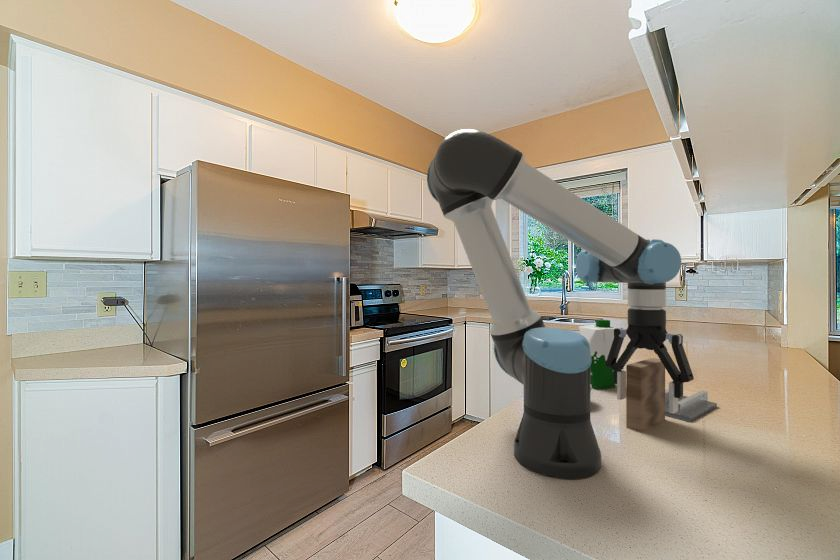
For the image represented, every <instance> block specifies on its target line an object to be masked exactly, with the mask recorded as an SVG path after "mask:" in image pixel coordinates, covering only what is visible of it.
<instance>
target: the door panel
mask: <svg viewBox="0 0 840 560" xmlns="http://www.w3.org/2000/svg"><path fill="white" fill-rule="evenodd" d="M625 366H626V370H625V371H626V398H625V401H626V402H625V403H626V404H625V405H626V406H625V407H626V412H625V413H626V415H625V416H626V417H625V419H626V423H625V425H626V426H625V427H626V429H629V430H633V431H635V430H636V431H635V432H638V431H639V433H643V432H644V431H646V430H648V429H650V428H651V427H654V426H657V424H660V423H662V422H664V421H666V415H665V390H666V368H665V367H664V365H663V363H662V362H661V360H660V358H653V357H651V358H647V359H643V360H640V361H635V362H633V363H632V362H631V363H629V364H628V363H627V364H626V365H625Z"/></svg>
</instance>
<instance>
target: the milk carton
mask: <svg viewBox="0 0 840 560" xmlns="http://www.w3.org/2000/svg"><path fill="white" fill-rule="evenodd" d="M578 328H579V334H581V335H582V336H584V337H585V338H586V339H587V340H588V342H589V345H590V353H591V359H592V362H591V385H592V389H594V388H595V390H602V389H612V388H617V385H616V384H615V383H614V371H613V369H612V368H610V367H607V366H606V361H607V358H608V355H609V352H610V349H611V346H612V343H613V340H614V329H617V328H618V327H614V326H613V327H612V326H611V320H610V319H595V325H584V326H582V325H579V326H578Z"/></svg>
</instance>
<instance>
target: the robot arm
mask: <svg viewBox="0 0 840 560" xmlns="http://www.w3.org/2000/svg"><path fill="white" fill-rule="evenodd" d="M426 175H427V176H426V184H427V188H428V191H429V194H430V195H431V196H432V198H433V200H435V201H436V202H437V203H438V204H439V208H440V210H441V213H442V215H443V217H444V219H447V220H449V221H451V222H452V223H454V226H455V228H456V231H457V233H458V236H459V239H460V241H461V244H462V245H463V249H464V252H465V254H466V257H467V259H468V262H469V264H470V266H471V269H472V272H473V275H474V277H475V280H476V282H477V284H478V287H479V290H480V292H481V294H482V297H483V300H484V302H485V304H486V308H487V310H488V312H489V315H490V317H491V320H492V325H491V327H490V329H489V333H490V336H491V339H492V342H493V353H494V357H495V360H496V363H498V365H499V367H500V368H501V370H502V371H504V372H505V373H506V374H507V375H508V376H510V377H511V378H513V379H514V380H515V381H517V382H519V383H520V384H522V385H523V414H522V417H521V421H520V423H519V426H518V429H517V432H516V435H515V438H514V442H513V444H514V445H513V447H514V448H513V450H514V451H513V454H514V457H515V460H517V462H518V463H519V464H521V465H522V466H523V467H525V468H527V470H530V471H532V472H535V473H537V474H540V475H543V476H547V477H551V478H557V479H564V480H567V479H568V480H578V479H579V480H581V479H586V478H590V477H593V476H594V475H596V474H598V473H599V472H600V471H601V468H602V452H601V449H600V447H599V443H598V440H597V437H596V434H595V431H594V427H593V425H592V421H591V392H590V385H591V362H592V359H591V353H590V345H589V342H588V340H587V339H586V338H585V337H584V336H582V335H581V334H580V332H579V333H578V332H576V331H573V330H569V329H564V328H559V327H548V326H547V327H546V325H545V322H544V320H543V317H542V314H541V313H539V312H537V311H536V310H533V309H532V308H531V306H530V304H529V301H528V298H527V296H526V293H525V292H524V288H523V286H522V283H521V281H520V277H519V275H518V273H517V270H516V267H515V265H514V263H513V260H512V257H511V254H510V252H509V250H508V247H507V244H506V241H505V240H504V237H503V234H502V231H501V229H500V227H499V224H498V221H497V219H496V216H495V214H494V211H493V208H492V204H493V201H497V200H502V201H504V202H506V203H508V204H509V205H511V206H512V207H514V208H515V209H516V210H517V209H518V210H519V211H520V212H522V213H524V214H526V215H527V216H528V217H531V218H532V219H533V220H534V221H537V222H538V223H540V224H541V225H543V226H545V227H546V228H548V229H549V230H550V231H553V232H555V233H556V234H558V235H559V236H561V237H563V238H564V239H566V240H568V242H571V243H572V244H573V245H575V246H578V247H579V248H580V249H582V250H581V251H580V252H579V253H578V255H577V257H576V260H575V272H576V274H577V277H578V278H579V280H580V281H582V282H584V283H594V284H597V283H618V284H619V283H625V284H626V283H627V306H628V307H630V308H628V309H627V328H623V327H616V328H617V329H614V340H613V343H612V346H611V349H610V352H609V355H608V358H607V361H606V366H607V367H610V368H612V369H613V371H614V383H615V385H616V399H617V400H619V401H621V400H624V399H626V370H624V369H625V368H624V367H625V366H626V365H627V364H628V362H629V361H630V359H631V358H632V357H633V355H634V353H635V352H636V351H637V350H638V349H641V350H642V349H646V350H649V351H653V352H654V354H655V355H657V357H658V359H660V360H661V362H662V363H663V365H664V367H665V371H667V373H668V375H669V376H670V378H671V381H670V382H668V389H669V413H672V414H673V413H675V412H677V411H678V398H681V397H682V396H684V383H689V382H692V381H693V380H694V378H695V377H694V374H693V371H692V369H691V365H690V362H689V360H688V357H687V354H686V352H685V348H684V343H683V341H684V336H683V335H682V334H681V333H677V334H673V333H668V331H667V328H666V326H667V310H665V309H664V308H665V307H666V306H667V289H666V288H667V283H668V282H670V281H672V280H673V279H674V278H676V277H677V276H678V274H679V272H680V269H681V267H682V257H681V254H680V252H679V250H678V249H677V247H675V246H674V245H673V244H671V243H668V242H665V241H664V240H662V239H650V238H649V239H646V238H644V237H642V236H641V235H639V234H638V233H636V232H635V231H633V230H632V229H630V228H628V227H626V226H625V225H624V224H622V223H621V222H619V221H618V220H616V219H614V218H613V217H611V216H610V215H608V214H606V213H605V212H603V211H602V210H600V209H599V208H597V207H595V206H594V205H593V204H591V203H590V202H588V201H586V200H584V198H582V197H580V196H578V195H577V194H575V192H572V191H570V190H569V189H567V188H566V187H564V186H563V185H562V184H561V183H558V182H557V181H555V180H554V179H552V178H550V177H549V176H547V174H545V173H543V172H541V171H539V170H538V169H536V168H535V167H534V166H532V165H530V164H528V163H527V162H526V160H525V154H524V153H523V152H521V151H520V150H519V149H517V148H515V147H514V146H512V145H511V144H508V143H507V142H505V141H503V139H500V138H498V137H496V136H495V135H492V134H490V133H487V132H485V131H481V130H478V129H472V128H467V129H466V128H465V129H459V130H456V131H454V132H452V133H449V135H448V136H446V137H445V138H444V139H442V141H441V143H440V144H439V146H438V147H437V150H436V152H435V155H434V157H433V159H432V160H431V161H430V164H429V166H428V168H427V173H426ZM626 337H628V338H629V339H630V341H629V342H628V344H627V345H626V347H625V349H624V350H623V352H622V353H621V355H620V356H619V354H620V352H621V348H622V346H623V342H624V340H625V338H626ZM667 340H668V342H669V344H670V345H671V349H672V352H673V355H674V358H675V361H676V363H677V365H676V363H675V361H674V360H673V359H672V357H671V355H670V353H669V352H668V348H667V347H666V345H665V344H664V342H665V341H667Z"/></svg>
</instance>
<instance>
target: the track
mask: <svg viewBox="0 0 840 560" xmlns="http://www.w3.org/2000/svg"><path fill="white" fill-rule="evenodd" d="M708 394H709V393H708V391H707V390H700V391H698V392H695V393H694V394H691V395H689V396H687V395H683V396H682V397H681V398H678V411H677V412H675V413H673V414H672V413H669V388H667V389H665V417H669V418H673V419H677V420H681V421H685V422H689V423H691V422H693V421H695V420H696V419H698V418H700V417H702V416H704V415H705V414H708V413H709V412H710V411H712V410H714V409H716V408H717V407H718V403H717V402H714V401H713V402H712V401H709V400H708V399H709V398H708Z"/></svg>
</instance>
